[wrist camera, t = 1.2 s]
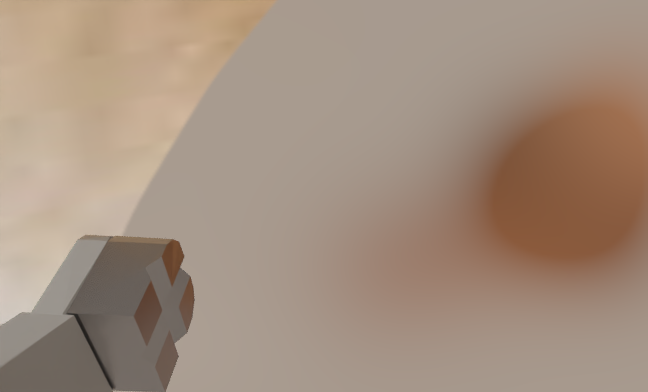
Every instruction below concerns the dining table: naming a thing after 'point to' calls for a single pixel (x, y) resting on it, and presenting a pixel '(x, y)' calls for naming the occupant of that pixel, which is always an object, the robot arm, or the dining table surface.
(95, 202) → the dining table surface
